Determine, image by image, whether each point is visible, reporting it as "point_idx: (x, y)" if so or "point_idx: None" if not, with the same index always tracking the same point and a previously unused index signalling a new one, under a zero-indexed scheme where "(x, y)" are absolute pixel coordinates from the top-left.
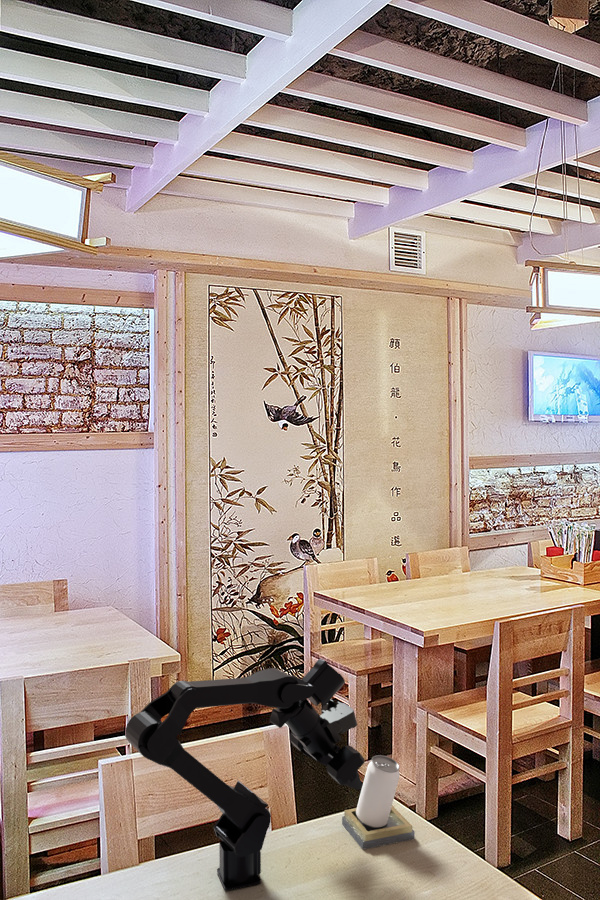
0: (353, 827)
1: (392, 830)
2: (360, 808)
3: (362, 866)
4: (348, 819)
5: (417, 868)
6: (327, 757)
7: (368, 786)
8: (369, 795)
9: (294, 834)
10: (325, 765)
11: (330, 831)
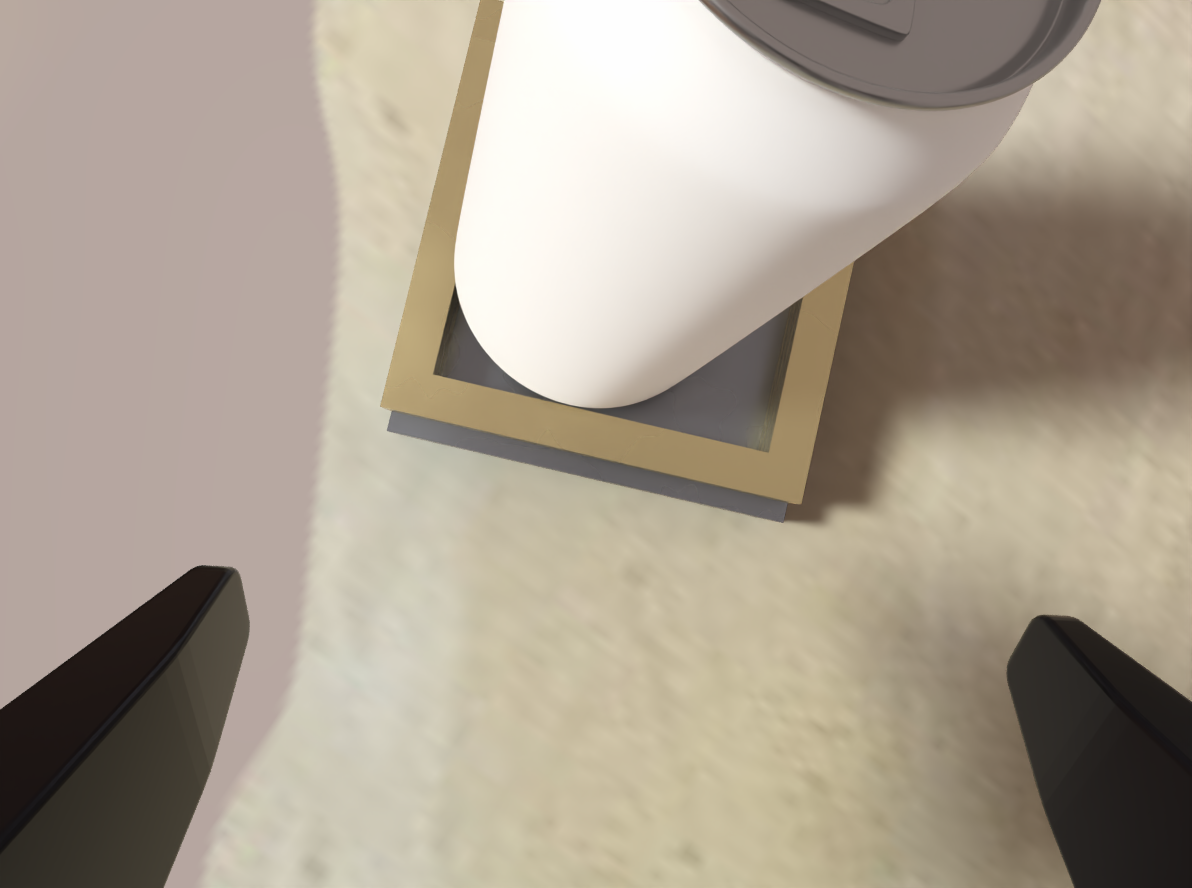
0: (577, 457)
1: (851, 269)
2: (603, 386)
3: (933, 648)
4: (471, 429)
5: (1142, 350)
6: (100, 844)
7: (736, 303)
8: (739, 327)
9: (322, 829)
10: (184, 824)
11: (437, 571)
